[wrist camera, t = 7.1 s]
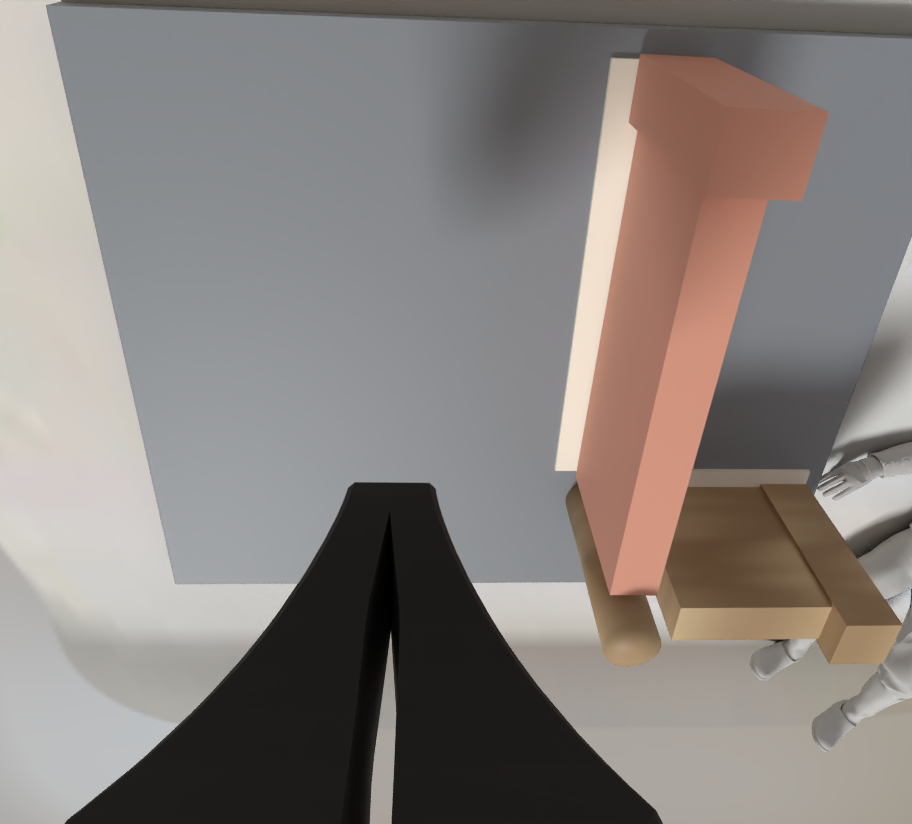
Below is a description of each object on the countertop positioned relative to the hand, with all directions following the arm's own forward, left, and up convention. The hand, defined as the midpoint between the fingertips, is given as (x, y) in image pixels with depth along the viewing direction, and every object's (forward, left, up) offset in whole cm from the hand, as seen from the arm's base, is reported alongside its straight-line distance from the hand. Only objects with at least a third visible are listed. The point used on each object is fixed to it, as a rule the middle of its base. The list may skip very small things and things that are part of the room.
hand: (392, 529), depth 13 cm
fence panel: (-5, -2, -5) cm, 8 cm away
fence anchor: (-8, +4, -6) cm, 11 cm away
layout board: (-2, 0, -6) cm, 7 cm away
